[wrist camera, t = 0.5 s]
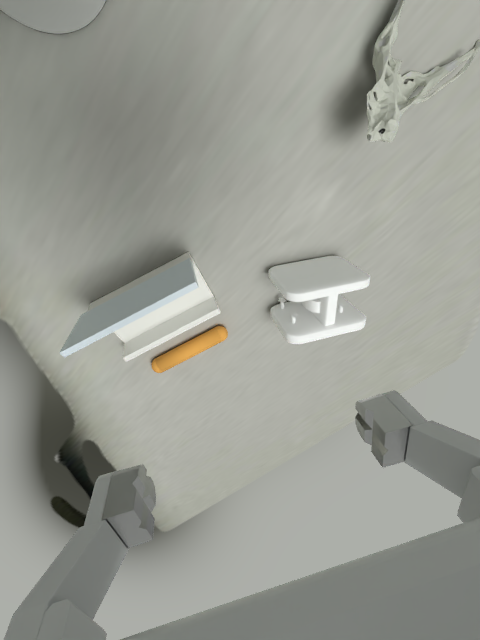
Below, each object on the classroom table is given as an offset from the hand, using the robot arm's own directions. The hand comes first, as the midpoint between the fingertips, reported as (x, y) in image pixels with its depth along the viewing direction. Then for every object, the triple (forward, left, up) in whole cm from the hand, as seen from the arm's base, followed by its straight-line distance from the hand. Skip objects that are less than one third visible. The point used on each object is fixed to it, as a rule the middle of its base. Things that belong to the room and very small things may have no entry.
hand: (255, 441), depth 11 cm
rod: (+23, -10, -40) cm, 47 cm away
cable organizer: (+22, +15, -40) cm, 48 cm away
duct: (+11, -10, -40) cm, 42 cm away
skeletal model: (-4, +36, -40) cm, 54 cm away
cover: (+6, -10, -30) cm, 32 cm away
